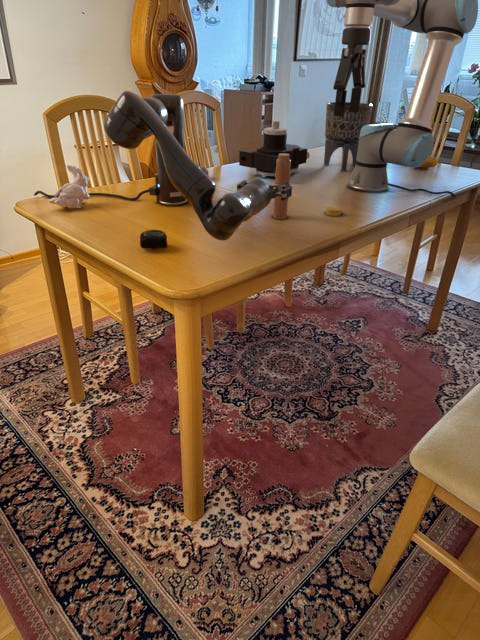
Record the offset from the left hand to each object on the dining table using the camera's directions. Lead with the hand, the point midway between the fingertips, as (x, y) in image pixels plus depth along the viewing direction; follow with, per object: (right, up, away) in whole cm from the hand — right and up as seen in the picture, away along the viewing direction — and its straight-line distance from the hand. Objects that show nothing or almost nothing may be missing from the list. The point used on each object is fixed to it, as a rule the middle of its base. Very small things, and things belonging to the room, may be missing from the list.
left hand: (272, 183), depth 128 cm
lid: (+21, -3, +19) cm, 28 cm away
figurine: (-64, -1, +20) cm, 67 cm away
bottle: (+3, -6, +15) cm, 17 cm away
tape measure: (-31, -20, -10) cm, 38 cm away
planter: (+38, +33, +83) cm, 97 cm away
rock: (-28, +18, +56) cm, 65 cm away
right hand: (+22, +22, +5) cm, 31 cm away
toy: (+77, +34, +86) cm, 121 cm away
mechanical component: (+8, +25, +69) cm, 74 cm away
